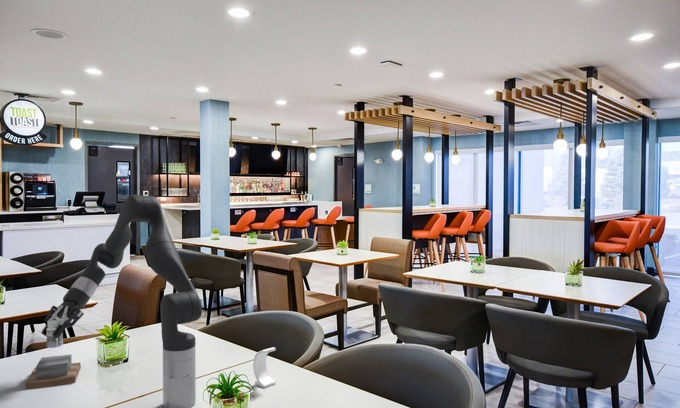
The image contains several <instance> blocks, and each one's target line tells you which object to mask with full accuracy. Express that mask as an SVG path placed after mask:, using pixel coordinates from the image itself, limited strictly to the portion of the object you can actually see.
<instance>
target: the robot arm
mask: <svg viewBox="0 0 680 408" xmlns="http://www.w3.org/2000/svg"><path fill="white" fill-rule="evenodd" d="M132 222H135V223H148V224H149V225H150V227H151V233H150V235H149V237H148V239H147V241H146V243H145V247H144V253H145V256H146V259H147V261H148V265H149V267H150V269H151V270H152V271H153V272H154V273H155V274H156V275H158V276H159V278H162V279H163V280H164V281H166V282H167V283H168V284H170V285H171V286H172V287H173V288H174V290H175V291H176V292H172V293H167V294H165V295H163V296H162V298H161V301H160V307H159V309H160V310H159V311H160V322H161V323H160V324H161V339H162V340H161V341H162V407H163V408H193V407H192V406H194V405H195V404H196V400H197V399H196V395H197V394H196V390H197V389H196V388H197V387H196V336H195V335H194V334H193V333H191V332H187V331H186V332H184V331H180V330H179V328H178V325H182V324H189V323H193V322H196V321H198V320H199V319H200V318H201V317H202V314H203V305H202V301H201V298H200V296H199V294H198V292H197V291H196V289H195V286H194V285H193V283H192V281H191V279H190V277H189V276H188V274H187V272H186V270H185V268H184V265H183V262H182V260H181V258H180V255H179V252H178V250H177V247H176V245H175V242H174V241H173V239H172V236H171V234H170V231H169V229H168V225H167V222H166V219H165V215H164V212H163V208H162V205H161V203H160V201H159V199H158V197H156V196H153V195H143V194H131V195H129V196H127V198H126V199H125V200H124V203H123V204H122V207H121V209H120V212H119V214H118V217H117V219H116V223H115V226H114V228H113V230H112V231H111V233H110V234H109V236H108V237H107V239H106V240H105V242H104V243H99V244H97V245H96V246H95V247H94V249H93V251H92V254H91V258H90V260H89V263H88V264H87V266H86V268H85V269H84V271H83V272H82V273H81V274H80V276H79V277H78V278H77V279H76V280H75V281H74V282H73V284H72V285H71V287H70V288H69V289H68V290H67V292H66V293H65V294H64V296H63V297H62V302H61V304H59V305H58V306H56V305H51V308H50V309H49V311H48V313H47V315H46V317H45V318H44V321H46V322H47V323H48V322H49V321H52V320H61V323H60V325H59V326H58V327H57V328H56V330H55V331H54V332H53V334H52V335H53V336H54V337H55V338H58V337H59V336H60V335H61V333H62V332H63V333H64V331H65V330H66V329H68V328H69V329H70V328H72V327H73V326H75V324H76V323H77V322H78V321H79V320H80V319H81V318H82V317H83V316H84V314H85V313H84V312H83V311H82V309H84V308H85V306H87V303H88V302H89V301H90V299H92V297H93V295H94V294H95V292H96V290H97V289H98V287H99V285H100V284H101V283H102V281H103V280H104V278H105V277H106V272H105V271H104V269H103V268H102V267H100V265H99V264H98V263H100V264H101V265H103V266H105V267H106V268H108V269H116V268H118V267H119V266H120V265H121V263H122V261H123V259H124V253H125V249H126V248H127V247H128V245H129V244H130V242H131V240H132V237H133V232H132V229H131V227H130V224H131V223H132ZM47 328H48V326H47V324H46V325H45V326H44V327H43V329H42V331H41V332H40V333H41V334H42V335H43V336H45V337H47V335H46V329H47Z"/></svg>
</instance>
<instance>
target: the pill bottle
mask: <svg viewBox="0 0 680 408" xmlns="http://www.w3.org/2000/svg"><path fill="white" fill-rule="evenodd" d="M60 323H61V320H56V319H54V320H52V321H49V322H48V323H47V324H46V325H47V326H48V328H47V329H46V335H47V336H46V347H47V348H49V349H54V348H55V349H56V348H59V347H60V348H61V347H63V345H64V331H63V332H62V333H61V335H60V336H59V337H58V338H55V337H54V336H53V335H52V334H53V332H54V331H55V330H56V328H57V327H58V326H59V325H60Z"/></svg>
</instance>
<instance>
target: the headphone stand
mask: <svg viewBox="0 0 680 408" xmlns="http://www.w3.org/2000/svg"><path fill="white" fill-rule="evenodd" d="M276 350H277V349H276V347H270V348H266V349H263V350H258V352H256V354H255V355H254V358H253V364H252V367H253V373H254V376H255V379H256V380H255V381H254V385H257V386H259V387H262V388H264V389H265V388H269V387H271V386H274V385H276V383H277V382H276V380H275V379H273V378H272V377H271V376H270V374H269V372H268V369H267V356H268V354H269V353H271V352H275V351H276Z"/></svg>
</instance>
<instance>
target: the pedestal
mask: <svg viewBox="0 0 680 408" xmlns="http://www.w3.org/2000/svg"><path fill="white" fill-rule="evenodd" d="M72 362H73V361H72V354H64V355H54V356H53V355H52V356H45V357H41V358H40V360H39V361H38V363H37V364H36V366H35V367H34V368H33V370H32V371H31V373H30V374H29V376H28V378H27V379H26V381H25V382H24V383H25V389H26V390H27V389H35V388H42V387H51V386H59V385H67V384H75V383H76V381H77V379H78V376H79V374H80V371H81V362H74V363H72Z"/></svg>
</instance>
